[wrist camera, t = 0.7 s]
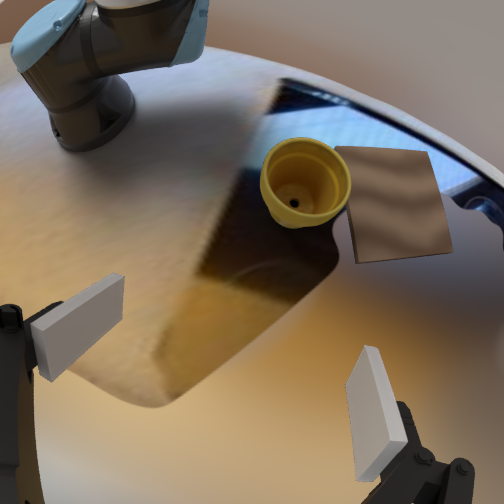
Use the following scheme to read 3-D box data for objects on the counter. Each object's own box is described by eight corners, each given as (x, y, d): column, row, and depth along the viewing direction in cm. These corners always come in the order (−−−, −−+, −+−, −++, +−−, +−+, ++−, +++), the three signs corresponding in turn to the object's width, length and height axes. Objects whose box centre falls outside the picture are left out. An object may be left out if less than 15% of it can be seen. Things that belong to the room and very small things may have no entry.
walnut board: (333, 149, 45) (335, 145, 44) (423, 154, 47) (427, 151, 46) (355, 263, 41) (358, 262, 40) (449, 253, 43) (453, 251, 42)
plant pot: (310, 164, 44) (328, 128, 35) (339, 227, 42) (367, 203, 33) (244, 184, 43) (248, 148, 33) (271, 252, 41) (284, 231, 31)
